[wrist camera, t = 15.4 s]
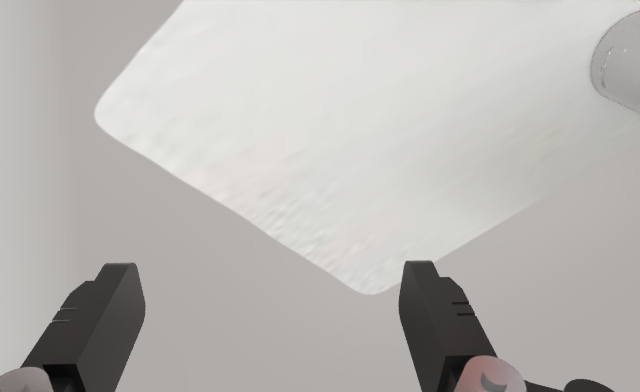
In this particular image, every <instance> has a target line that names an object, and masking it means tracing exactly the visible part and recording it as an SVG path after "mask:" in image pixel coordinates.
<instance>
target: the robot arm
mask: <svg viewBox="0 0 640 392" xmlns="http://www.w3.org/2000/svg"><path fill="white" fill-rule="evenodd" d="M591 79H592V83H593V85H594V87H595V89H596V90H597V91H598V92H599V93H600V94H601V95H603V96H604V97H606V98H608V99H611V100H613V101H615V102H618V103H620V104H622V105H625V106H627V107H629V108H631V109H633V110H636V111H638V112H640V11H639V12H636V13H633V14H631V15H629V16H627V17H625V18H624V19H622V20H620V21H619V22H618V23H617V24H615V25H614V26H613V27H612V28H611V29H610V30H609V31H608V32H607V33H606V34H605V36H604V37H603V38H602V40H601V41H600V43H599V44H598V46H597V48H596V51H595V53H594V55H593V59H592V63H591ZM399 315H400V320H401V323H402V327H403V330H404V333H405V337H406V340H407V343H408V346H409V350H410V353H411V357H412V360H413V363H414V367H415V370H416V373H417V377H418V380H419V383H420V386H421V390H422V392H614V391H612V390H611V389H610V388H608V387H606V386H604V385H602V384H600V383H597V382H595V381H591V380H587V379H576V380H572V381H570V382H569V383H568V384H567V385H566V386H565V388H564V390H563V391H561V390H557V389H553V388H549V387H545V386H541V385H537V384H534V383H530V382H528V381H525V380H523V378H522V376H521V375H520V373H519V372H518V371H517V370H516V369H515V368H514V367H513V366H511V365H510V364H508V363H507V362H505V361H503V360H501V359H499V358H498V357H497V355H496V353H495V351H494V349H493V347H492V345H491V344H490V342H489V340H488V338H487V336H486V334H485V332H484V330H483V328H482V326H481V324H480V322H479V320H478V319H477V317H476V316H475V313H474V311H473V309H472V307H471V305H469V301H468V300H467V298H466V295H465V293H464V292H463V290H462V288H461V287H460V286H458V285H457V284H456V283H455V282H454V281H453V280H452V279H451V278H450V277H439V275H438V273H437V270H436V268H435V266H434V264H433V262H432V261H406V262H405V265H404V270H403V276H402V283H401V289H400V295H399ZM144 317H145V300H144V296H143V291H142V287H141V283H140V278H139V273H138V269H137V266H136V264H135V263H106V264H105V265H104V266H103V268H102V269H101V271H100V272H99V274H98V276H97V277H96V279H95V281H85V282H84V283H83V284H81V285H80V286H79V287H78V288H76V289H75V290H74V291H73V292H71V293H70V294H69V296H68V297H67V299H66V300H65V302H64V303H63V305H62V306H61V308H60V311H58V312H57V314H56V315H55V317H54V318H53V320H52V323H50V324H49V326H48V327H47V328H46V330H45V331H44V333H43V335H42V336H41V337H40V339H39V340H38V342H37V343H36V345H35V346H34V348H33V349H32V351H31V352H30V354H29V355H28V357H27V358H26V360H25V361H24V363H23V364H22V366H21V367H20V368H19V369H15V370H12V371H10V372H7V373H5V374H3V375H1V376H0V392H115V389H116V387H117V385H118V382H119V380H120V377H121V375H122V373H123V370H124V368H125V365H126V363H127V361H128V358H129V355H130V353H131V351H132V349H133V346H134V344H135V341H136V339H137V337H138V334H139V332H140V329H141V327H142V324H143V321H144Z"/></svg>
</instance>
